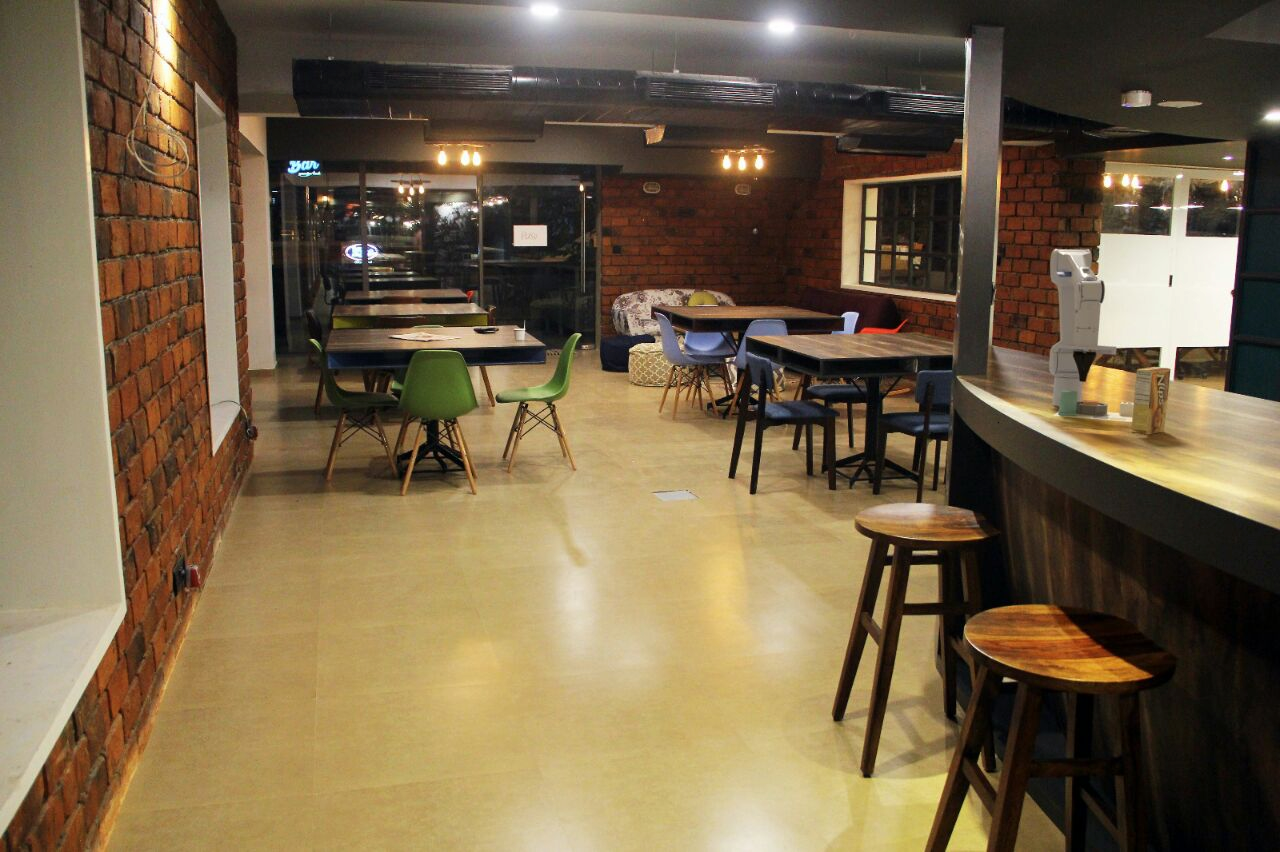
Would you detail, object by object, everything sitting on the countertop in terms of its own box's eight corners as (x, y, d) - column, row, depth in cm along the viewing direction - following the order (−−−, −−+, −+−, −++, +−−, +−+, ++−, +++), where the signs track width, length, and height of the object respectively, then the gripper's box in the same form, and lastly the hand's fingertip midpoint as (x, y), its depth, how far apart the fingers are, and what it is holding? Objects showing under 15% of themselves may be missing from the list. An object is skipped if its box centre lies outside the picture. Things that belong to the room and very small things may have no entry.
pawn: (1059, 413, 280) (1061, 390, 279) (1077, 414, 277) (1079, 391, 276) (1056, 415, 276) (1058, 392, 275) (1075, 416, 274) (1076, 393, 273)
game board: (1061, 412, 288) (1062, 397, 287) (1152, 419, 277) (1153, 403, 277) (1052, 419, 275) (1053, 403, 275) (1146, 427, 264) (1148, 410, 264)
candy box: (1148, 429, 261) (1153, 366, 259) (1165, 431, 258) (1171, 368, 255) (1130, 433, 256) (1135, 368, 253) (1148, 435, 252) (1153, 370, 250)
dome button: (1079, 407, 284) (1080, 399, 283) (1102, 409, 281) (1103, 400, 280) (1076, 410, 279) (1077, 401, 278) (1100, 411, 276) (1100, 403, 276)
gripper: (1054, 327, 275) (1050, 381, 277) (1116, 330, 268) (1111, 384, 270) (1058, 326, 281) (1054, 378, 283) (1118, 328, 274) (1114, 382, 276)
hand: (1082, 381), depth 277 cm, fingers closed
